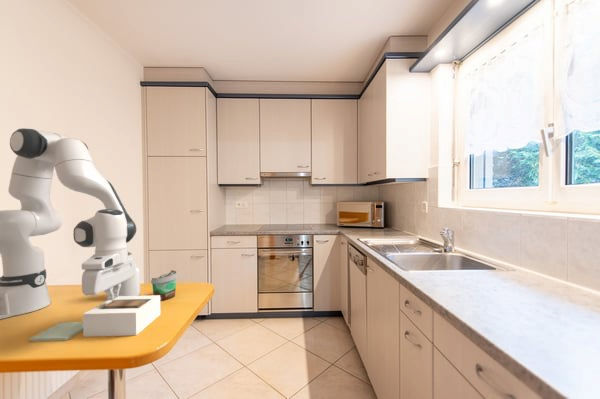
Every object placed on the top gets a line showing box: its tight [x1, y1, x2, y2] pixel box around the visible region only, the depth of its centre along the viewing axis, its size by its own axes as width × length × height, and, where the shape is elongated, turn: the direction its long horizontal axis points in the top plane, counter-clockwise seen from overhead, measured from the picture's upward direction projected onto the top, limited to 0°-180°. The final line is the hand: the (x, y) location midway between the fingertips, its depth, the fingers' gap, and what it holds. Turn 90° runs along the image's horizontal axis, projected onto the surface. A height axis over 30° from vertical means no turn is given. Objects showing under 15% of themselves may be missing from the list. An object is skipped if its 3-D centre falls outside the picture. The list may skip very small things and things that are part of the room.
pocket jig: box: [82, 294, 162, 337], centre depth 85 cm, size 16×14×7 cm
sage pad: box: [28, 321, 83, 342], centre depth 81 cm, size 11×10×1 cm
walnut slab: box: [104, 300, 145, 309], centre depth 85 cm, size 11×4×3 cm, turn 91°
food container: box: [150, 270, 179, 302], centre depth 108 cm, size 12×6×10 cm, turn 168°
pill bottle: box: [119, 261, 141, 296], centre depth 110 cm, size 8×8×15 cm
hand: (113, 298), depth 85 cm, fingers closed
